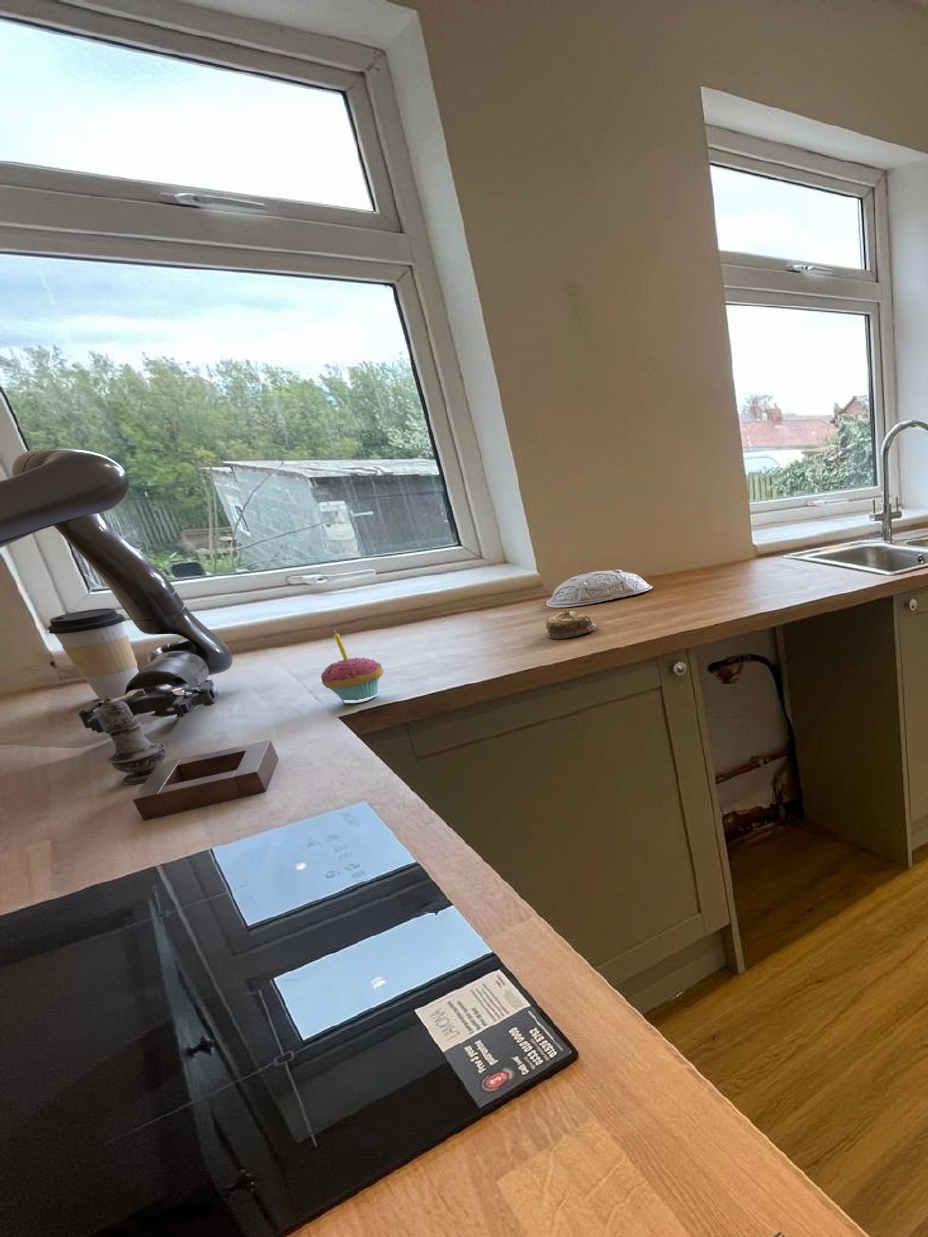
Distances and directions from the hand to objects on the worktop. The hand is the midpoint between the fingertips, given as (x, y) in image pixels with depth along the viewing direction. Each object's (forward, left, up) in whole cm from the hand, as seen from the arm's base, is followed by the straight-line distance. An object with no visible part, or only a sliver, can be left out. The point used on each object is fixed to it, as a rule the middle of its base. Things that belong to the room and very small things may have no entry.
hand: (138, 718), depth 109 cm
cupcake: (+24, +10, -7) cm, 27 cm away
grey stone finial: (0, -6, -7) cm, 9 cm away
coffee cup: (-13, +42, -7) cm, 44 cm away
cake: (+60, +28, -7) cm, 66 cm away
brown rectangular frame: (+9, -17, -7) cm, 21 cm away
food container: (+71, +57, -7) cm, 91 cm away
